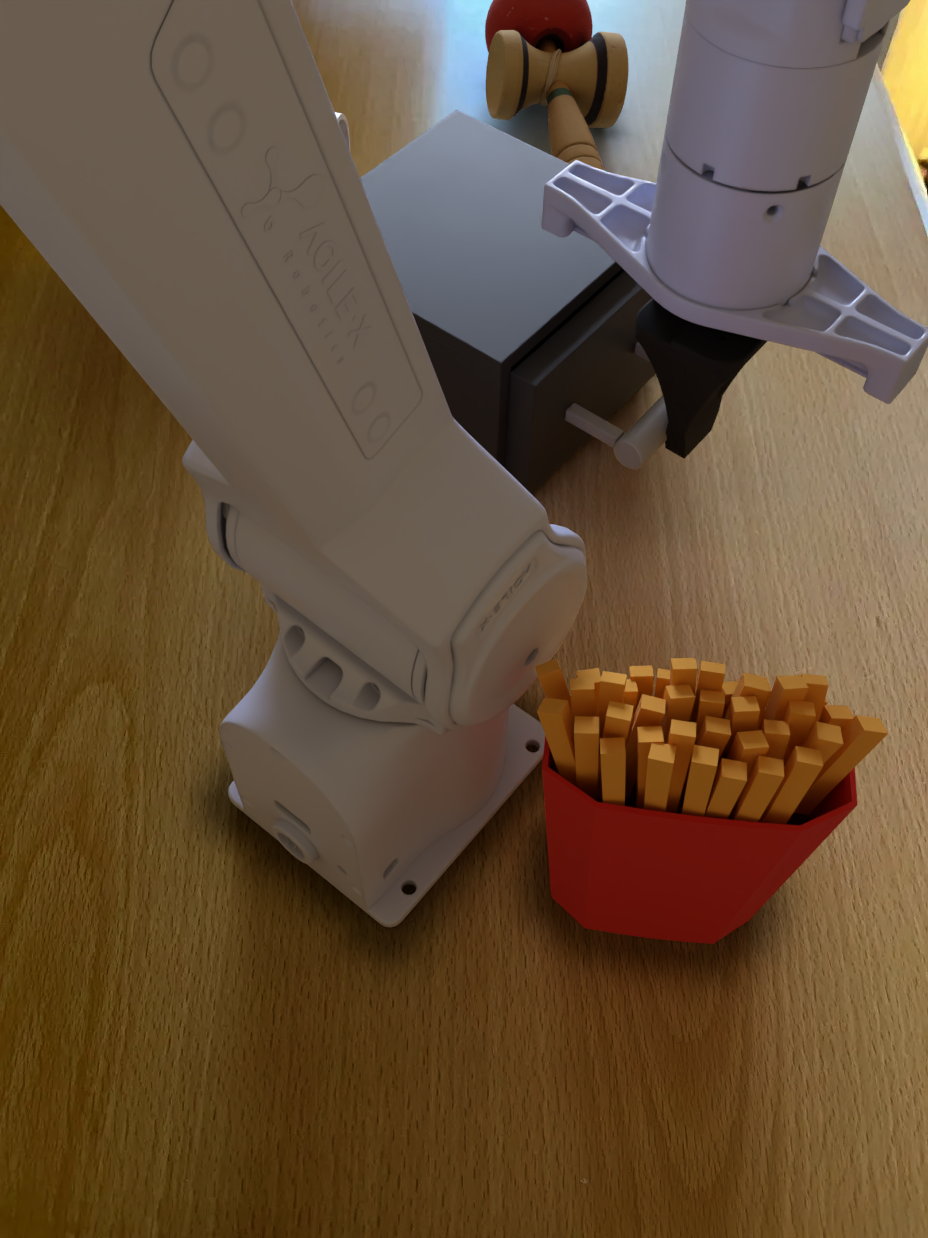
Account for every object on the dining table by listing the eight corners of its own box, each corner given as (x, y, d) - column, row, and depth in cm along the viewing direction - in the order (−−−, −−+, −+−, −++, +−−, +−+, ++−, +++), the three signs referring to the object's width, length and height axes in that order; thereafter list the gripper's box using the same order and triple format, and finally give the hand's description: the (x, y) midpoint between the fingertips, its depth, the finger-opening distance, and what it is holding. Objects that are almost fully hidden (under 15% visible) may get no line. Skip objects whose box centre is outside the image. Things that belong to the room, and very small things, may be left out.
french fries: (774, 839, 42) (887, 640, 31) (777, 957, 39) (901, 787, 29) (517, 809, 42) (541, 603, 32) (505, 924, 40) (526, 744, 29)
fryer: (643, 364, 55) (671, 212, 48) (493, 509, 50) (501, 363, 43) (455, 262, 59) (456, 108, 52) (299, 387, 54) (277, 235, 47)
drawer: (733, 408, 52) (767, 289, 47) (601, 549, 48) (621, 435, 42) (482, 273, 57) (486, 150, 52) (341, 388, 53) (329, 268, 47)
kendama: (673, 254, 62) (600, 24, 69) (675, 163, 56) (595, -77, 64) (528, 288, 62) (472, 55, 70) (516, 200, 56) (455, -42, 64)
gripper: (1028, 167, 36) (892, 466, 47) (637, 6, 41) (598, 310, 52) (923, 285, 33) (804, 575, 44) (513, 95, 38) (500, 398, 49)
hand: (685, 438), depth 48 cm, fingers closed, pressing on drawer
